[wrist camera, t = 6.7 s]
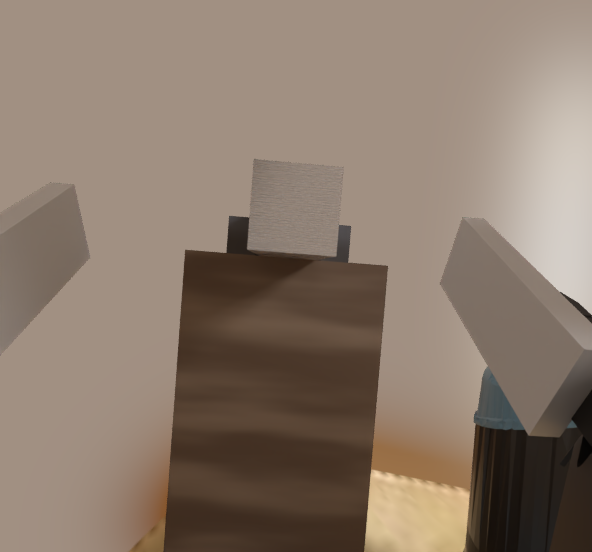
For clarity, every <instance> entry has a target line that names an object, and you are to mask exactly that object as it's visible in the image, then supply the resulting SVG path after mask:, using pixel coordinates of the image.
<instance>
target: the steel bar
mask: <svg viewBox="0 0 592 552" xmlns="http://www.w3.org/2000/svg"><path fill="white" fill-rule="evenodd" d="M342 180H343V167H335V166H324V165H313V164H301V163H291V162H279V161H268V160H257V159H254V164H253V177H252V190H251V203H250V217H249V230H248V243H247V250H249V251H251V252H253V253H255V254H257V255H259V256H269V257H282V258H294V259H307V260H319V259H325V258H331V257H336V254H337V242H338V230H339V217H340V216H339V215H340V203H341V191H342Z"/></svg>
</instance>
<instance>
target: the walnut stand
mask: <svg viewBox="0 0 592 552" xmlns="http://www.w3.org/2000/svg"><path fill="white" fill-rule="evenodd" d="M248 230H249V218H248V217H236V216H229V226H228V241H227V253H217V252H205V251H193V250H185V261H184V276H183V290H182V303H181V317H180V330H179V346H178V359H177V372H176V373H177V374H176V387H175V401H174V415H173V428H172V442H171V443H172V444H171V456H170V470H169V485H168V498H167V512H166V526H165V540H164V552H364V545H365V534H366V522H367V510H368V498H369V486H370V474H371V462H372V449H373V438H374V426H375V414H376V402H377V390H378V378H379V366H380V355H381V354H380V353H381V343H382V331H383V318H384V307H385V295H386V282H387V271H388V266H382V265H370V264H357V263H348V258H349V245H350V233H351V226H343V225H339V230H338V242H337V254H336V257H331V258H325V259H319V260H307V259H294V258H282V257H269V256H259V255H257V254H255V253H253V252H251V251H249V250H247V243H248Z"/></svg>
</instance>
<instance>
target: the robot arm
mask: <svg viewBox="0 0 592 552" xmlns="http://www.w3.org/2000/svg"><path fill="white" fill-rule="evenodd" d="M89 258H90V255H89V250H88V245H87V241H86V236H85V232H84V227H83V223H82V218H81V214H80V209H79V204H78V200H77V195H76V191H75V186H74V185H73V184H61V183H49V184H47V185H46V186H44V187H42V188H40V189H39V190H37V191H36V192H34V193H32V194H31V195H29V196H27V197H26V198H24V199H22V200H21V201H19V202H17V203H16V204H14V205H12V206H11V207H9V208H7V209H6V210H4V211H3V212H1V213H0V355H1V354H2V353H3V352H4V351H5V350H6V349H7V347H8V346H9V345H10V344H11V343H12V342H13V341H14V339H16V338H17V337H18V335H19V334H20V333H21V332H22V331H23V330H24V329H25V328H26V327H27V326H28V325H29V324H30V322H31V321H32V320H33V319H34V318H35V317H36V316H37V315H38V314H39V313H40V312H41V310H42V309H43V308H44V307H45V306H46V305H47V304H48V303H49V302H50V301H51V300H52V298H53V297H54V296H55V295H56V294H57V293H58V292H59V291H60V290H61V289H62V288H63V286H64V285H65V284H66V283H67V282H68V281H69V280H70V279H71V277H73V275H74V274H75V273H76V272H77V271H78V270H79V269H80V268H81V267H82V266H83V265H84V264H85V263H86V261H87V260H88V259H89ZM440 285H441V286H442V288H443V290H444V291H445V293H446V295H447V296H448V298H449V300H450V302H451V303H452V305H453V307H454V308H455V310H456V312H457V314H458V315H459V317H460V319H461V321H462V322H463V324H464V326H465V327H466V329H467V331H468V332H469V334H470V336H471V338H472V339H473V341H474V343H475V344H476V346H477V348H478V350H479V351H480V353H481V355H482V357H483V358H484V360H485V362H486V363H487V365H488V367H487V368H486V369H485V371H484V374H483V377H482V385H481V392H480V398H479V406H478V410H477V411H476V412H475V414H474V423H476V426H475V438H474V450H473V462H472V474H471V486H470V487H471V488H470V498H469V510H468V522H467V534H466V544H465V549H464V551H463V552H592V315H591V314H590V313H588V311H587V310H586V309H584V308H583V307H582V306H581V305H580V304H579V303H578V302H576V301H574V300H573V299H571V298H569V297H568V296H566V295H565V294H563V293H561V292H559V291H558V290H557V289H556V288H555V287H554V286H553V285H552V284H550V282H549V281H548V280H546V279H545V278H544V277H543V276H542V275H541V274H540V273H539V272H538V271H537V270H536V269H535V268H534V267H533V266H532V265H531V264H530V263H529V262H528V261H527V260H526V259H525V258H524V257H523V256H522V255H521V254H520V253H519V252H518V251H517V250H516V249H515V248H514V247H513V246H511V245H510V244H509V243H508V242H507V241H506V240H505V239H504V238H503V237H502V236H501V235H500V234H499V233H498V232H497V231H496V230H495V229H494V228H493V227H492V226H491V225H490V224H489V223H488V222H487V221H486V220H485V219H479V218H467V217H463V218H462V220H461V224H460V227H459V229H458V232H457V235H456V238H455V241H454V244H453V247H452V250H451V253H450V256H449V259H448V262H447V265H446V267H445V270H444V273H443V276H442V279H441V282H440Z"/></svg>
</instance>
